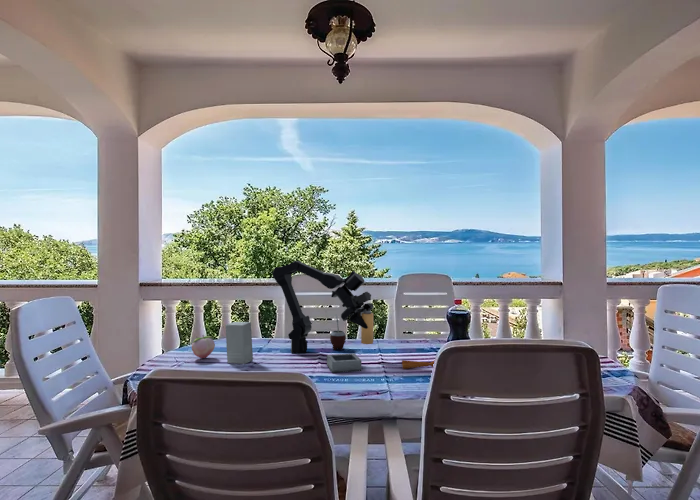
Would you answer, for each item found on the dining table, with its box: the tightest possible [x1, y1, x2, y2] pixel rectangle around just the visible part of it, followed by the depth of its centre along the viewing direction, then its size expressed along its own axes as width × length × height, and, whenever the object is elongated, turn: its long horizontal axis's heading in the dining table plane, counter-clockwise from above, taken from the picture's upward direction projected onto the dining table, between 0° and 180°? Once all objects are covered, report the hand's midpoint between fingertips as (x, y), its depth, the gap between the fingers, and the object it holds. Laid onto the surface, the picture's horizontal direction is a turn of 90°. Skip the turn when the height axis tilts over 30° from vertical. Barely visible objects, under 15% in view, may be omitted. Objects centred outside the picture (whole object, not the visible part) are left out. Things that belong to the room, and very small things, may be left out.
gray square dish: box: [326, 353, 362, 374], centre depth 158 cm, size 11×11×4 cm
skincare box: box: [225, 321, 254, 365], centre depth 167 cm, size 8×7×16 cm
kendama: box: [401, 359, 435, 370], centre depth 156 cm, size 6×6×20 cm
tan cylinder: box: [360, 310, 374, 345], centre depth 171 cm, size 5×5×13 cm
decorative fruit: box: [191, 335, 216, 359], centre depth 172 cm, size 9×8×10 cm
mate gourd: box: [329, 314, 347, 351], centre depth 190 cm, size 8×8×15 cm
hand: (370, 327), depth 171 cm, fingers closed on tan cylinder, 5 cm apart
